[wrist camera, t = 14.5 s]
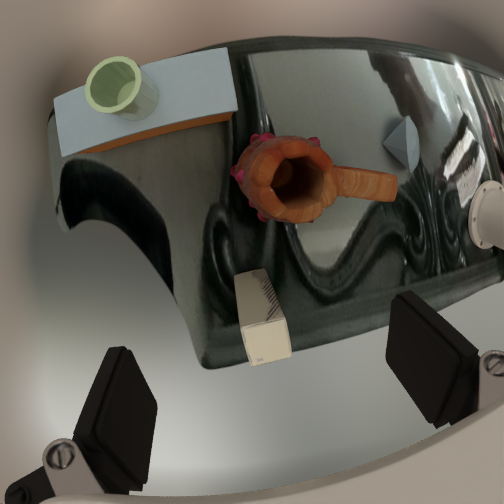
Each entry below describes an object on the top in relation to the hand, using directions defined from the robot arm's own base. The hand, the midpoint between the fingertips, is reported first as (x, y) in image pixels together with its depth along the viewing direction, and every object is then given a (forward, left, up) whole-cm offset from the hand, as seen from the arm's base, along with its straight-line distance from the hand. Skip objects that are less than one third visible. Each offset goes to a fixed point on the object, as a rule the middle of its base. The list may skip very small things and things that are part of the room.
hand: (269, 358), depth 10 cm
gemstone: (-24, -5, -28) cm, 37 cm away
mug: (-8, -3, -28) cm, 29 cm away
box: (-1, +11, -28) cm, 30 cm away
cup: (+6, -13, -18) cm, 23 cm away
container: (+6, -13, -27) cm, 31 cm away
